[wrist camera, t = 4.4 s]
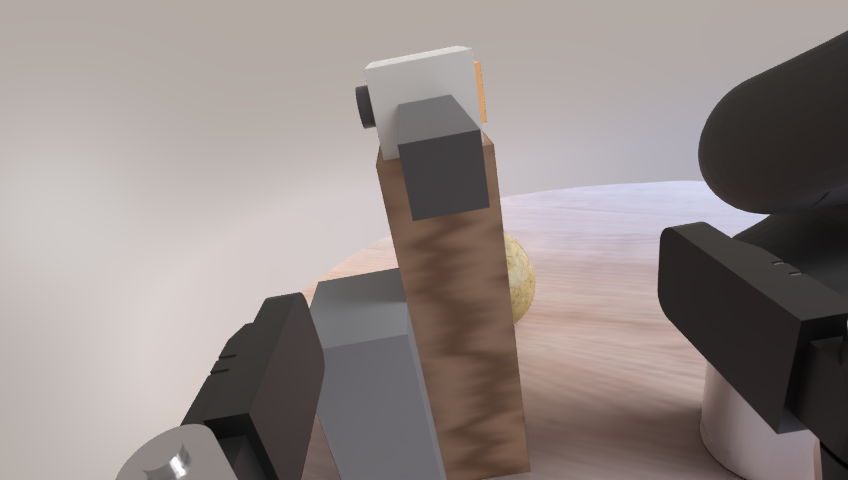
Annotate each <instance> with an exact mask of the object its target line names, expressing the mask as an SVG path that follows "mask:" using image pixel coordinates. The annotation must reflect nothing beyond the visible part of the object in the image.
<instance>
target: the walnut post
mask: <svg viewBox="0 0 848 480" xmlns="http://www.w3.org/2000/svg"><path fill="white" fill-rule="evenodd" d="M483 140H484V142H482V146H483V154H484V162H485V171H486V179H487V187H488V195H489V203H490V208H484V209H479V210H473V211H468V212H462V213H457V214H451V215H446V216H440V217H435V218H429V219H424V220H418V221H413V220H412V215H411V210H410V205H409V200H408V195H407V190H406V185H405V180H404V175H403V170H402V165H401V160H400V158H395V159H390V160H383V155H382V151H381V146H380V147H379V153H378V158H377V163H376V168H377V173H378V177H379V181H380V186H381V191H382V195H383V199H384V204H385V208H386V212H387V217H388V222H389V226H390V230H391V235H392V239H393V244H394V248H395V253H396V257H397V261H398V266H399V270H400V275H401V279H402V284H403V288H404V292H405V297H406V301H407V306H408V310H409V314H410V319H411V323H412V328H413V332H414V337H415V341H416V345H417V350H418V354H419V359H420V363H421V368H422V372H423V376H424V381H425V385H426V390H427V394H428V399H429V403H430V407H431V412H432V416H433V421H434V425H435V429H436V434H437V438H438V443H439V447H440V452H441V456H442V460H443V465H444V469H445V474H446V478H447V480H479V479H485V478H492V477H498V476H504V475H510V474H516V473H522V472H528V471H530V466H529V457H528V448H527V439H526V430H525V421H524V412H523V403H522V394H521V385H520V376H519V367H518V358H517V349H516V340H515V331H514V322H513V313H512V304H511V295H510V286H509V277H508V268H507V259H506V250H505V241H504V232H503V223H502V214H501V205H500V196H499V188H498V178H497V169H496V160H495V151H494V144H493V143H492V141H491V140H490V139H489V138H488V137H487V135H486V134H485V133H484V132H483Z"/></svg>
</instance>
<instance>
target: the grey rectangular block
mask: <svg viewBox="0 0 848 480" xmlns="http://www.w3.org/2000/svg"><path fill="white" fill-rule="evenodd" d="M309 310H310V313H311V316H312V319H313V322H314V325H315V328H316V331H317V334H318V337H319V340H320V343H321V346H322V349H323V354H324V362H325V372H324V378H323V383H322V387H321V392H320V396H319V401H318V405H317V410H316V412H317V415H318V418H319V421H320V423H321V426H322V429H323V431H324V434H325V437H326V439H327V442H328V445H329V448H330V450H331V453H332V456H333V458H334V461H335V464H336V466H337V469H338V472H339V475H340V477H341V480H447V478H446V474H445V469H444V465H443V460H442V456H441V452H440V447H439V443H438V438H437V434H436V429H435V425H434V421H433V416H432V412H431V407H430V403H429V399H428V394H427V390H426V385H425V381H424V376H423V372H422V368H421V363H420V359H419V354H418V350H417V345H416V341H415V337H414V332H413V328H412V323H411V319H410V314H409V310H408V306H407V301H406V297H405V292H404V288H403V284H402V279H401V275H400V270H399V268H395V269H389V270H383V271H378V272H372V273H367V274H361V275H355V276H350V277H344V278H339V279H333V280H327V281H322V282H318V285H317V288H316V291H315V294H314V297H313V300H312V303H311V306H310V309H309Z"/></svg>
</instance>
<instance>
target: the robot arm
mask: <svg viewBox="0 0 848 480" xmlns="http://www.w3.org/2000/svg"><path fill="white" fill-rule="evenodd" d="M698 159H699V166H700V170H701V173H702V176H703V178H704V179H705V181H706V183H707V185H708V186H709V187H710V189H711V190H712V191H713V192H714V193H715V195H717V196H718V197H719V198H720V199H722V200H723V201H724V202H726V203H728V204H729V205H731V206H733V207H735V208H737V209H740V210H743V211H746V212H751V213H758V214H771V215H769V216H768V217H767V218H765V219H764V220H762V221H761V222H759V223H757V224H755V225H754V226H752V227H750V228H748V229H746V230H744V231H742V232H741V233H739V234H737V235H735V236H734V237H732V238H730V237H729V236H727V235H725V234H724V233H722V232H721V231H719V230H717V229H716V228H714V227H712V226H711V225H709V224H708V223H705V222H696V223H691V224H685V225H680V226H674V227H668V228H665V229H664V230H663V232H662V234H661V237H660V250H659V271H658V298H659V302H660V305H661V308H662V310H663V312H664V314H665V315H666V317H667V318H668V319H669V320H670V321H671V322H672V323H673V324H674V325H675V326H676V327H677V329H678V330H679V331H680V332H681V333H682V334H683V335H684V336H685V337H686V338H687V339H688V340H689V341H690V342H691V343H692V344H693V346H694V347H695V348H696V349H697V350H698V351H699V352H700V353H701V354H702V355H703V356H704V357H705V358H706V359H707V369H706V378H705V387H704V395H703V404H702V413H701V422H700V434H701V438H702V441H703V443H704V445H705V446H706V448H707V450H708V451H709V452H710V453H711V454H712V456H713V457H714V458H715V459H716V460H717V461H718V462H720V463H721V464H722V465H723V466H724V467H726V468H727V469H729V470H730V471H732V472H733V473H735V474H737V475H738V476H741V477H743V478H745V479H747V480H848V31H846V32H844V33H842V34H840V35H838V36H836V37H835V38H833V39H831V40H829V41H827V42H825V43H823V44H821V45H819V46H817V47H815V48H813V49H811V50H809V51H806V52H805V53H802V54H800V55H798V56H796V57H795V58H792V59H790V60H788V61H786V62H784V63H782V64H780V65H777V66H775V67H773V68H771V69H769V70H767V71H765V72H763V73H761V74H759V75H756V76H754V77H752V78H750V79H748V80H746V81H744V82H742V83H741V84H739V85H738V86H736V87H735V88H733V89H732V90H731V91H730V92H728V93H727V94H726V95H725V96H724V97H723V98H722V99H721V101H720V102H719V103H718V104H717V105H716V107H715V108H714V109H713V111H712V112H711V114H710V116H709V118H708V119H707V121H706V124H705V126H704V129H703V131H702V134H701V138H700V142H699V149H698ZM324 372H325V362H324V354H323V349H322V346H321V343H320V340H319V337H318V334H317V331H316V328H315V325H314V322H313V319H312V316H311V313H310V310H309V307H308V304H307V301H306V299H305V297H304V295H303V294H302V293H300V292H299V293H293V294H287V295H281V296H275V297H270V298H266V299H265V301H264V303H263V304H262V307H261V308H260V310H259V312H258V314H257V316H256V318H255V320H254V322H253V323H249V324H245V325H244V326H243V327H242V328H241V329H240V330H239V331H238V332H237V333H235V334H234V335H233V336H232V337H231V338H230V339H229V340H228V342H227V343H226V345H225V347H224V349H223V351H222V352H221V354H220V356H219V361H216V363H215V365H214V367H213V368H212V370H211V372H210V373H211V375H210V376H208V377H207V379H206V381H205V382H204V384H203V386H202V388H201V389H200V391H199V393H198V395H197V396H196V399H195V400H194V402H193V403H192V405H191V407H190V409H189V411H188V412H187V414H186V416H185V418H184V420H183V421H182V423H181V425H180V426H179V427H176V428H173V429H170V430H168V431H166V432H164V433H162V434H160V435H158V436H156V437H155V438H153V439H152V440H150V441H148V442H147V443H146V444H145V445H143V446H142V447H141V448H140V449H138V450H137V451H136V452H135V453H134V454H133V455H132V456H131V457H130V458H129V459H128V460H127V462H126V463H125V464H124V466H123V467H122V468H121V470H120V472H119V473H118V476H117V478H116V480H301V476H302V472H303V467H304V463H305V459H306V454H307V450H308V445H309V441H310V436H311V432H312V427H313V423H314V418H315V414H316V410H317V405H318V401H319V396H320V392H321V387H322V383H323V378H324Z"/></svg>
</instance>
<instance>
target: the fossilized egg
mask: <svg viewBox="0 0 848 480" xmlns="http://www.w3.org/2000/svg"><path fill="white" fill-rule="evenodd" d="M503 232H504V231H503ZM504 241H505V250H506V259H507V268H508V277H509V286H510V295H511V304H512V313H513V322H514V323H516V322H517V321H518V320H520V319H521V318H522V316H523V315H524V314H525V313H526V312H527V310H528V309H529V307H530V305H531V302H532V300H533V297H534V293H535V284H536V281H535V272H534V269H533V266H532V263H531V261H530V258H529V256H528V255H527V253H526V251H525V250H524V249H523V248H522V246H521V245H520V244H519V243H518V242H517V241H516V240H515V239H514V238H513V237H512V236H510V235H509V234H507V233H506V232H504Z"/></svg>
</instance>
